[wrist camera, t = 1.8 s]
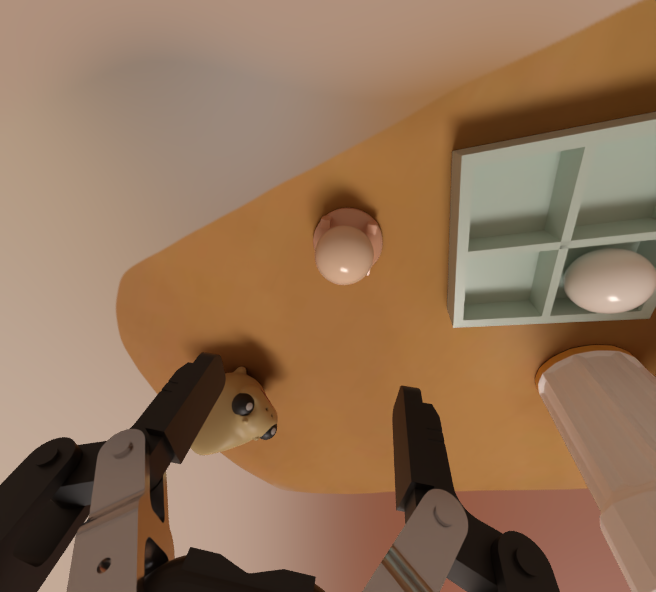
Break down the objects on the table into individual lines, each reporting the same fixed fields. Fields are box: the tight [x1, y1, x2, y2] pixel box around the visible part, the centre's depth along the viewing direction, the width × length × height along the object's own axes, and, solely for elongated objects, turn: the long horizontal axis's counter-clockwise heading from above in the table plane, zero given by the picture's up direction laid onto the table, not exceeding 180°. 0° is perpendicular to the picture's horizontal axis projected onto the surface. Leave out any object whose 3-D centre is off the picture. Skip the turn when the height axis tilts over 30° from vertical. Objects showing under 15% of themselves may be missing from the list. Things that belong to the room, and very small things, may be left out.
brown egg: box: [315, 225, 374, 285], centre depth 23 cm, size 5×5×5 cm
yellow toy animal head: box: [190, 367, 277, 455], centre depth 36 cm, size 10×12×11 cm
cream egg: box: [563, 248, 656, 314], centre depth 21 cm, size 5×5×5 cm
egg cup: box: [313, 207, 382, 275], centre depth 25 cm, size 6×6×2 cm
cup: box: [535, 345, 656, 592], centre depth 22 cm, size 11×11×17 cm
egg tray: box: [447, 112, 656, 328], centre depth 21 cm, size 15×15×3 cm
